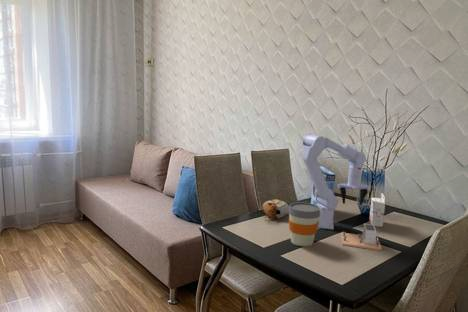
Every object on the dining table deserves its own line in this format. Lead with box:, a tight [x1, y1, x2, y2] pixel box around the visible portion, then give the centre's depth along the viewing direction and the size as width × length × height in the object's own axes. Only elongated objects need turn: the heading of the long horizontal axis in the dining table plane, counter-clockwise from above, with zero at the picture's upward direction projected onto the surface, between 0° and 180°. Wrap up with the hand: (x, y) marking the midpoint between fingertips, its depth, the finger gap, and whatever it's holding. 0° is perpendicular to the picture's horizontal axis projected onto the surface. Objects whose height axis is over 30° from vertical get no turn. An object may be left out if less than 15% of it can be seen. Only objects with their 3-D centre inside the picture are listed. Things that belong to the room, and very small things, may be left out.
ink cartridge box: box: [368, 192, 386, 227], centre depth 164 cm, size 9×5×15 cm, turn 168°
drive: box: [361, 223, 377, 246], centre depth 142 cm, size 4×8×6 cm, turn 166°
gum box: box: [310, 165, 336, 206], centre depth 177 cm, size 20×5×23 cm, turn 4°
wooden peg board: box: [340, 231, 383, 251], centre depth 143 cm, size 15×12×2 cm
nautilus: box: [262, 199, 290, 222], centre depth 169 cm, size 8×22×15 cm
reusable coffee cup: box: [288, 201, 320, 247], centre depth 140 cm, size 13×12×15 cm
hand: (351, 203), depth 164 cm, fingers open, 7 cm apart
